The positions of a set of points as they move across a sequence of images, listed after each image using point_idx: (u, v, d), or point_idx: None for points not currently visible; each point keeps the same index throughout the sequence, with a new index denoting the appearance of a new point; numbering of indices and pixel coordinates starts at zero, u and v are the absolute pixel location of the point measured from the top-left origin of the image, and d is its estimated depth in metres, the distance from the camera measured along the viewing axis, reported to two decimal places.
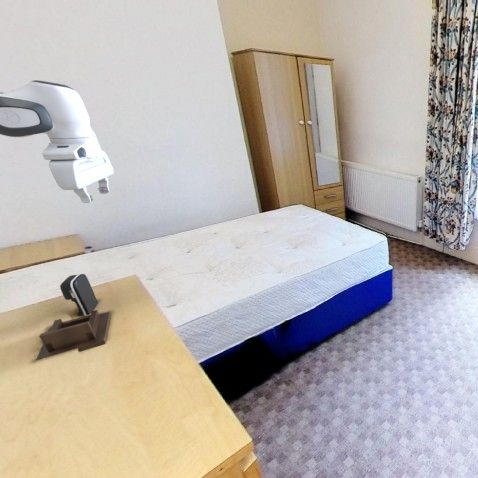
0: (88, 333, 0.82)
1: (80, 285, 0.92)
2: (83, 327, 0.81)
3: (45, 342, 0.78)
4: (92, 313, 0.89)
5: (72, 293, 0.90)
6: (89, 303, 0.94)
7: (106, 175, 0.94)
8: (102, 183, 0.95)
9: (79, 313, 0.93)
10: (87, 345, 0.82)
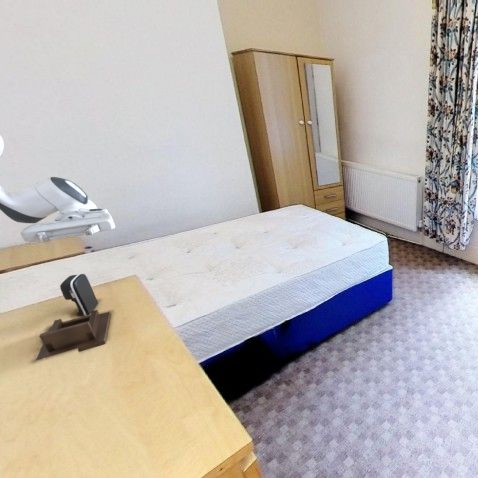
0: (88, 333, 0.82)
1: (80, 285, 0.92)
2: (83, 327, 0.81)
3: (45, 342, 0.78)
4: (92, 313, 0.89)
5: (72, 293, 0.90)
6: (89, 303, 0.94)
7: None
8: None
9: (79, 313, 0.93)
10: (87, 345, 0.82)
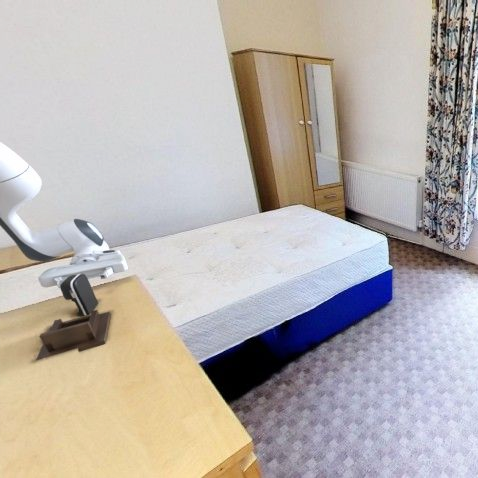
0: (88, 333, 0.82)
1: (80, 285, 0.92)
2: (83, 327, 0.81)
3: (45, 342, 0.78)
4: (92, 313, 0.89)
5: (72, 293, 0.90)
6: (89, 303, 0.94)
7: None
8: None
9: (79, 313, 0.93)
10: (87, 345, 0.82)
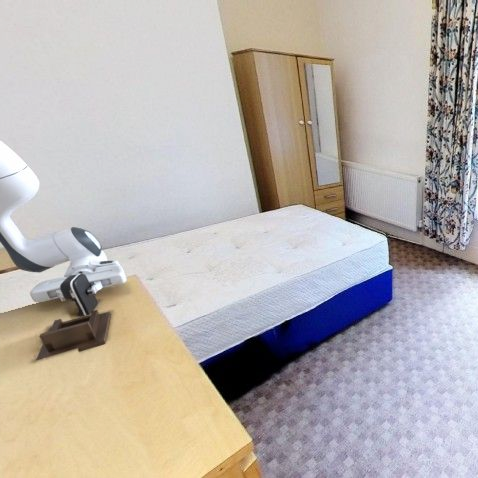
0: (88, 333, 0.82)
1: (79, 285, 0.92)
2: (83, 327, 0.81)
3: (45, 342, 0.78)
4: (92, 313, 0.89)
5: (72, 293, 0.90)
6: (89, 303, 0.94)
7: None
8: None
9: (79, 313, 0.93)
10: (87, 345, 0.82)
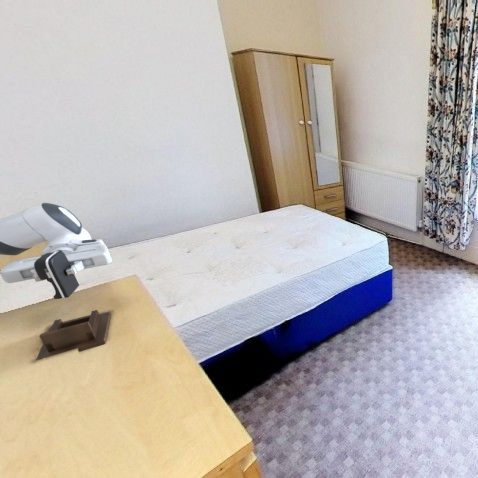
0: (88, 333, 0.82)
1: (57, 264, 0.81)
2: (83, 327, 0.81)
3: (45, 342, 0.78)
4: (92, 313, 0.89)
5: (48, 272, 0.80)
6: (68, 284, 0.84)
7: None
8: None
9: (56, 295, 0.82)
10: (87, 345, 0.82)
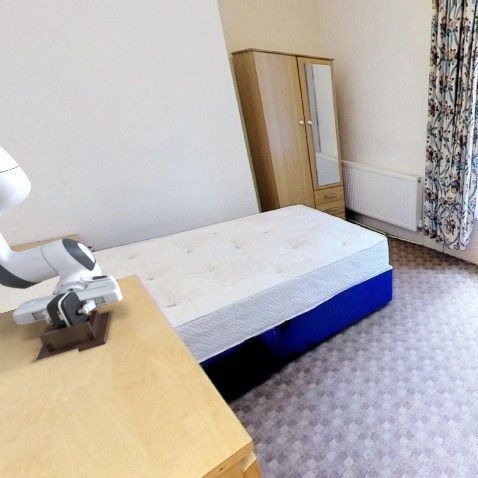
0: (88, 333, 0.82)
1: (69, 305, 0.81)
2: (83, 327, 0.81)
3: (45, 342, 0.78)
4: (92, 313, 0.89)
5: (60, 314, 0.80)
6: None
7: None
8: None
9: None
10: (87, 345, 0.82)
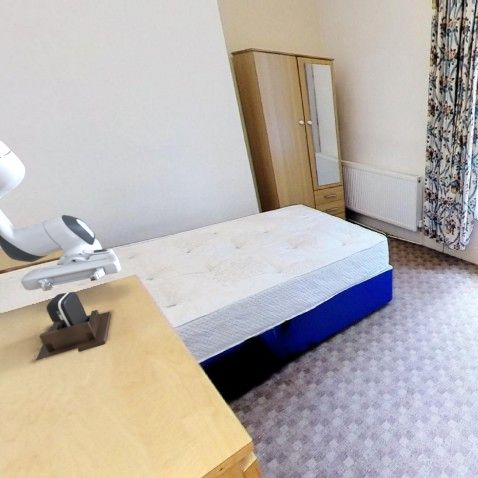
0: (88, 333, 0.82)
1: (69, 305, 0.81)
2: (83, 327, 0.81)
3: (45, 342, 0.78)
4: (92, 313, 0.89)
5: (60, 314, 0.80)
6: None
7: None
8: None
9: None
10: (87, 345, 0.82)
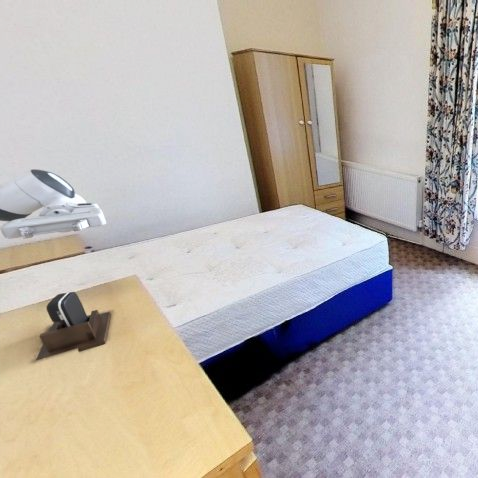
0: (88, 333, 0.82)
1: (69, 305, 0.81)
2: (83, 327, 0.81)
3: (45, 342, 0.78)
4: (92, 313, 0.89)
5: (60, 314, 0.80)
6: None
7: None
8: None
9: None
10: (87, 345, 0.82)
